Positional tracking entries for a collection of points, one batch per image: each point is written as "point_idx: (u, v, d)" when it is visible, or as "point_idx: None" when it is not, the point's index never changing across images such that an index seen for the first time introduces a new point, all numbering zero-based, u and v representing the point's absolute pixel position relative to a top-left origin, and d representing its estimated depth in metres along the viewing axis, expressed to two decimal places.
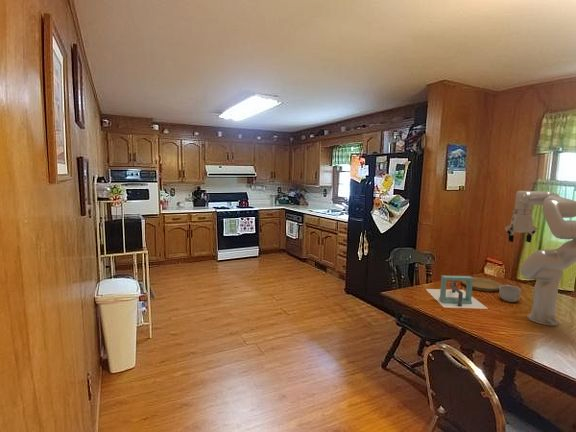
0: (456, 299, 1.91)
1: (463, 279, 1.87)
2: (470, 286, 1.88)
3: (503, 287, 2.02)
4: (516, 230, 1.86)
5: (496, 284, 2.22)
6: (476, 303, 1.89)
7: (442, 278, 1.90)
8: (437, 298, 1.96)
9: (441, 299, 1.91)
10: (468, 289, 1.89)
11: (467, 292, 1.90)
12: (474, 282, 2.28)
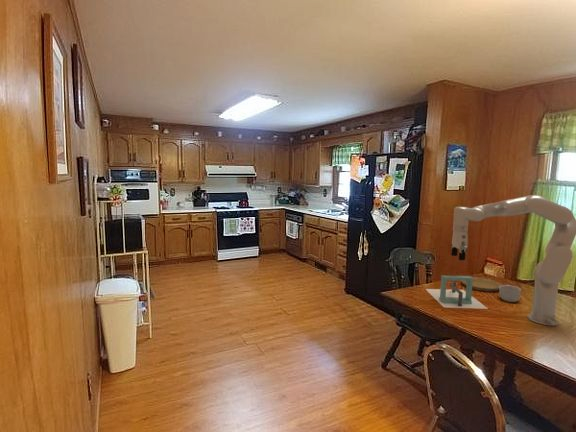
0: (456, 299, 1.91)
1: (463, 279, 1.87)
2: (470, 286, 1.88)
3: (503, 287, 2.02)
4: None
5: (496, 284, 2.22)
6: (476, 303, 1.89)
7: (442, 278, 1.90)
8: (437, 298, 1.96)
9: (441, 299, 1.91)
10: (468, 289, 1.89)
11: (467, 292, 1.90)
12: (474, 282, 2.28)
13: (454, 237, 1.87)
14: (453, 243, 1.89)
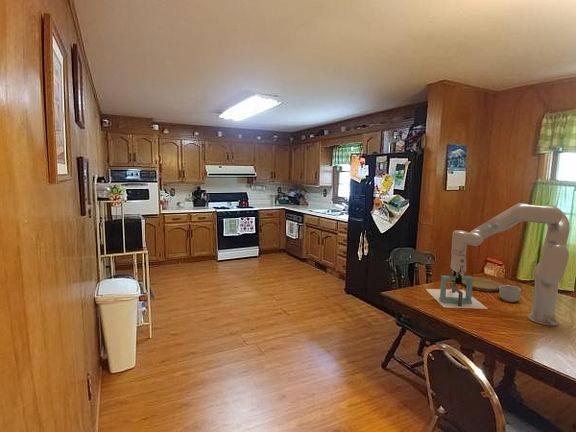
0: (456, 299, 1.91)
1: (463, 279, 1.87)
2: (470, 286, 1.88)
3: (503, 287, 2.02)
4: None
5: (496, 284, 2.22)
6: (476, 303, 1.89)
7: (442, 278, 1.90)
8: (437, 298, 1.96)
9: (441, 299, 1.91)
10: (468, 289, 1.89)
11: (467, 292, 1.90)
12: (474, 282, 2.28)
13: (453, 260, 1.89)
14: (452, 266, 1.91)
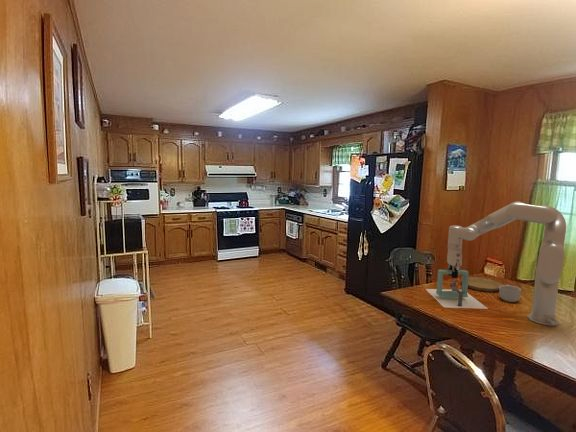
0: (452, 292, 1.96)
1: (459, 273, 1.92)
2: (466, 280, 1.93)
3: (503, 287, 2.02)
4: None
5: (496, 284, 2.22)
6: (476, 303, 1.89)
7: (439, 272, 1.95)
8: (437, 298, 1.96)
9: (438, 292, 1.96)
10: (464, 283, 1.94)
11: (463, 286, 1.96)
12: (474, 282, 2.28)
13: (449, 255, 1.94)
14: (448, 260, 1.96)
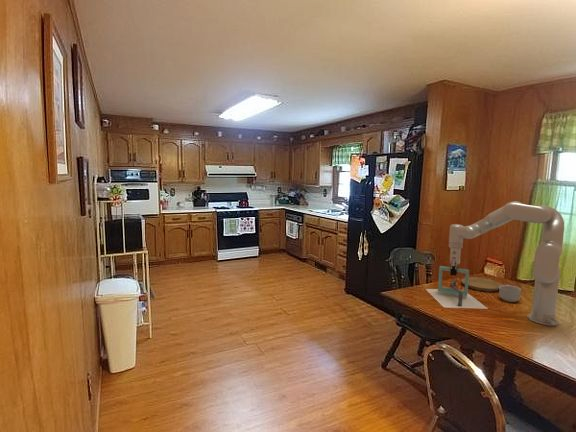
0: (453, 290, 2.01)
1: (458, 271, 1.96)
2: (466, 279, 1.95)
3: (503, 287, 2.02)
4: (458, 263, 1.94)
5: (496, 284, 2.22)
6: (476, 303, 1.89)
7: None
8: (437, 298, 1.96)
9: (438, 288, 2.05)
10: (465, 282, 1.96)
11: None
12: (474, 282, 2.28)
13: None
14: None
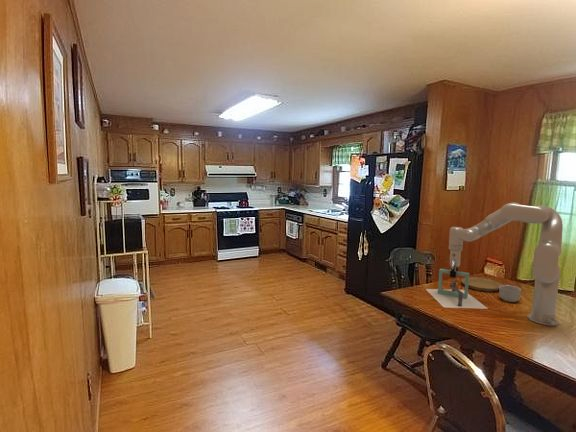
0: (453, 292, 2.01)
1: (458, 274, 1.97)
2: (466, 282, 1.95)
3: (503, 287, 2.02)
4: (458, 265, 1.95)
5: (496, 284, 2.22)
6: (476, 303, 1.89)
7: None
8: (437, 298, 1.96)
9: None
10: (465, 284, 1.97)
11: None
12: (474, 282, 2.28)
13: None
14: None
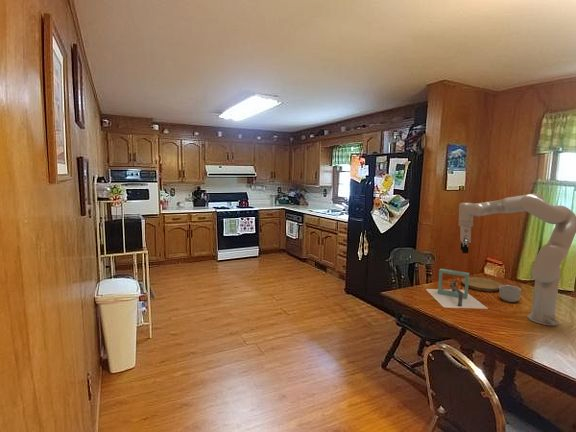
0: (453, 292, 2.01)
1: (458, 274, 1.97)
2: (466, 282, 1.95)
3: (503, 287, 2.02)
4: (470, 241, 1.92)
5: (496, 284, 2.22)
6: (476, 303, 1.89)
7: None
8: (437, 298, 1.96)
9: None
10: (465, 284, 1.97)
11: None
12: (474, 282, 2.28)
13: (460, 231, 1.98)
14: (460, 237, 1.99)
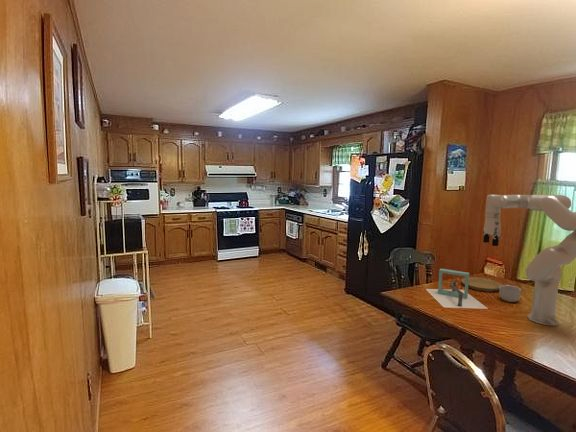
0: (453, 292, 2.01)
1: (458, 274, 1.97)
2: (466, 282, 1.95)
3: (503, 287, 2.02)
4: None
5: (496, 284, 2.22)
6: (476, 303, 1.89)
7: None
8: (437, 298, 1.96)
9: None
10: (465, 284, 1.97)
11: None
12: (474, 282, 2.28)
13: (487, 224, 1.94)
14: (485, 230, 1.96)
